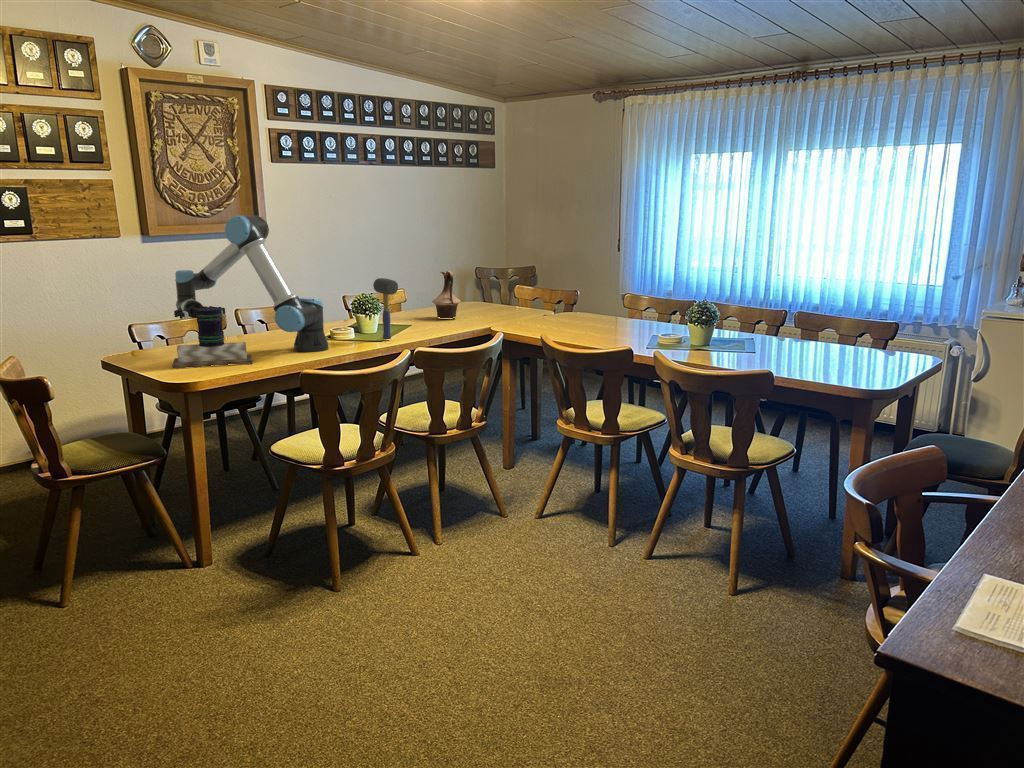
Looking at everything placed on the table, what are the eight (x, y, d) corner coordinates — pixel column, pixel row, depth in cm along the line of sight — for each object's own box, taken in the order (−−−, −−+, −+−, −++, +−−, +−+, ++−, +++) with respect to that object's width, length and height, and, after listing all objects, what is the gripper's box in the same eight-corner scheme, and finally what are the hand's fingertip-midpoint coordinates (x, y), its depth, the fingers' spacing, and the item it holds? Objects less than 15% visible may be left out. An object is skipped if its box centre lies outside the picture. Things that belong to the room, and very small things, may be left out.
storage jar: (193, 345, 296) (190, 309, 292) (211, 341, 305) (208, 306, 301) (212, 347, 292) (208, 310, 289) (230, 343, 301) (227, 307, 298)
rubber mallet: (373, 339, 357) (371, 277, 350) (386, 337, 362) (385, 277, 355) (387, 343, 348) (385, 280, 341) (400, 341, 353) (399, 279, 346)
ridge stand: (251, 357, 312) (250, 340, 310) (252, 364, 299) (251, 346, 297) (174, 361, 301) (173, 343, 299) (172, 368, 289) (170, 350, 287)
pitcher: (466, 320, 421) (466, 271, 415) (439, 322, 413) (439, 272, 406) (453, 316, 436) (453, 268, 429) (427, 317, 428) (426, 269, 421)
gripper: (222, 315, 325) (236, 321, 309) (162, 319, 311) (173, 326, 294) (221, 298, 324) (235, 303, 307) (160, 301, 309) (171, 307, 293)
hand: (205, 314), depth 301 cm, fingers open, 13 cm apart
